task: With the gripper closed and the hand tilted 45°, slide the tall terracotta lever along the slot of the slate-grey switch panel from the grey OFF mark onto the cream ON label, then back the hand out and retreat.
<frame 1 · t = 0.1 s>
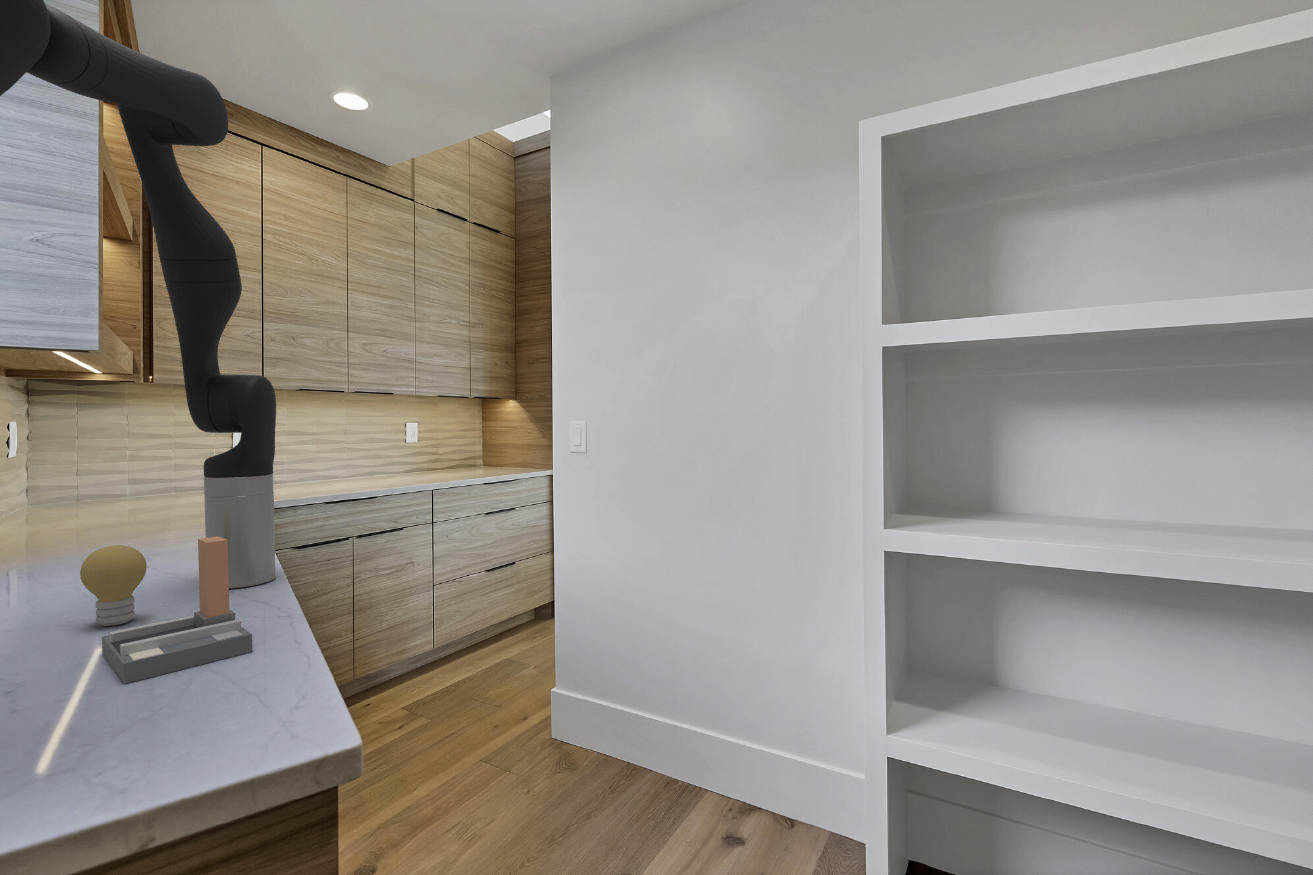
switch panel: (177, 652, 68), on the countertop
light bulb: (115, 624, 79), on the countertop
lever: (213, 582, 71), point 7 cm above the countertop, slide at 0.0 cm
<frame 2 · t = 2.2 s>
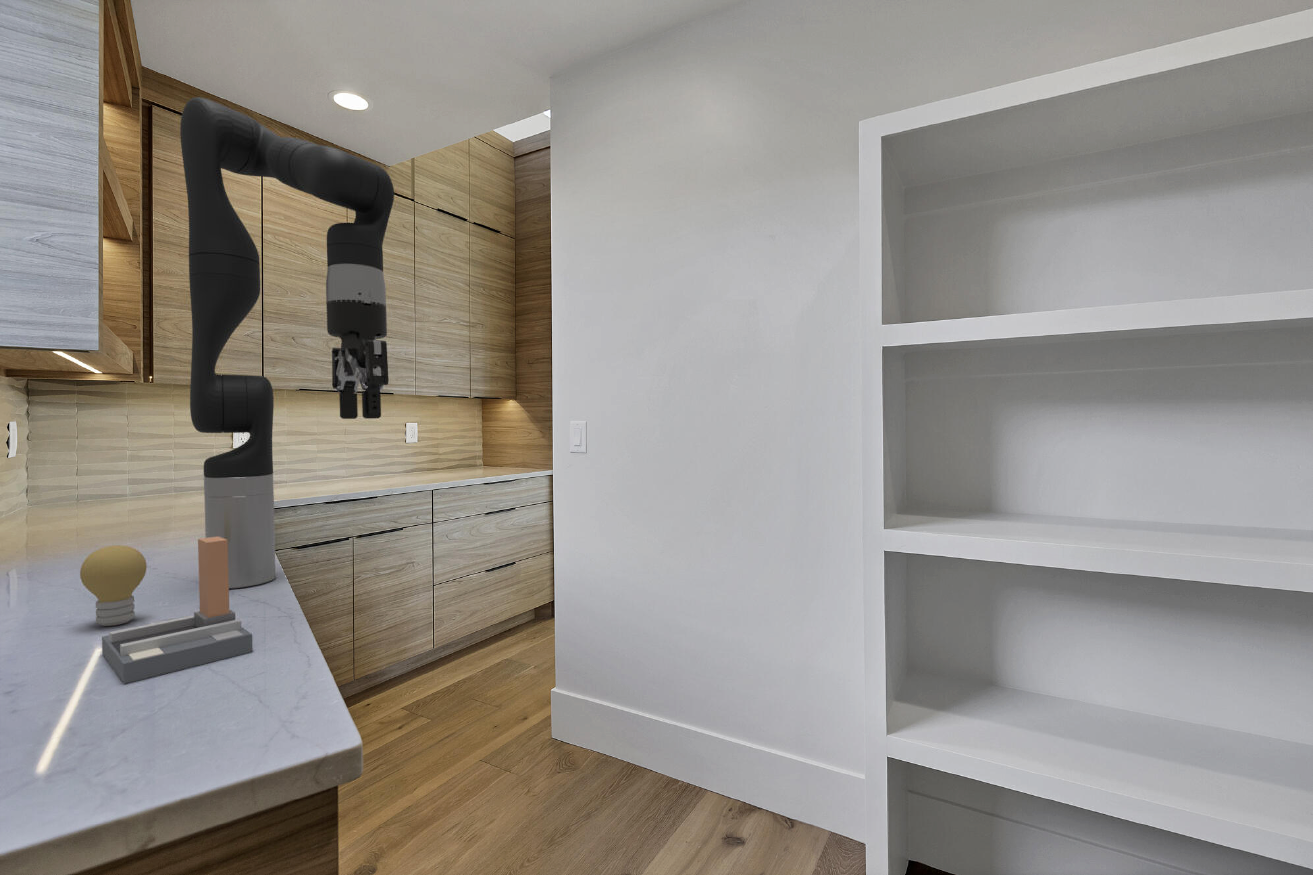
hand: (360, 418, 86), 26 cm above the countertop, tool pointing down, fingers open, 8 cm apart
nothing on the countertop moved.
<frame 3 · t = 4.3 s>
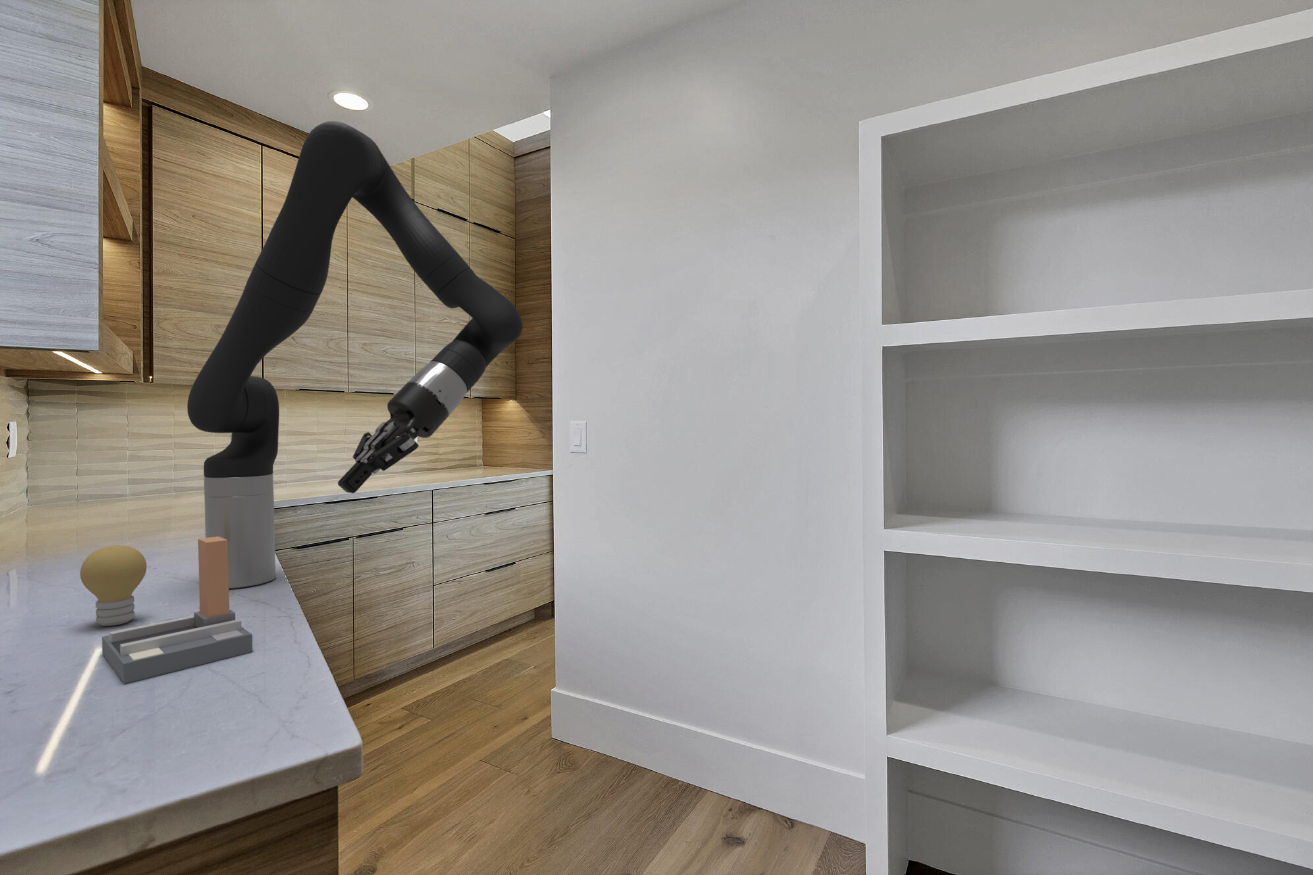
hand: (344, 488, 82), 17 cm above the countertop, tool tilted 45°, fingers closed
nothing on the countertop moved.
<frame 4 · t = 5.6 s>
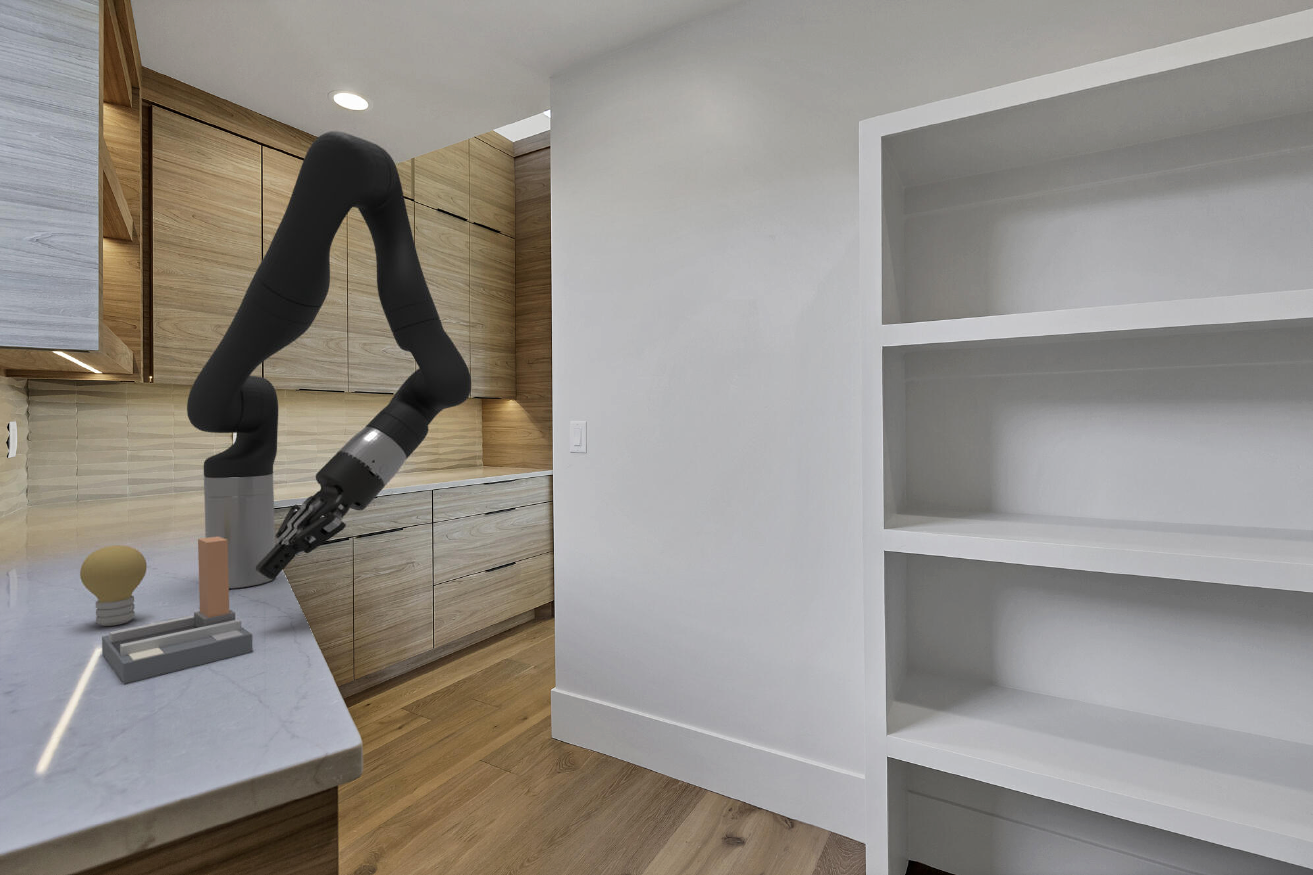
hand: (263, 574, 75), 7 cm above the countertop, tool tilted 45°, fingers closed
nothing on the countertop moved.
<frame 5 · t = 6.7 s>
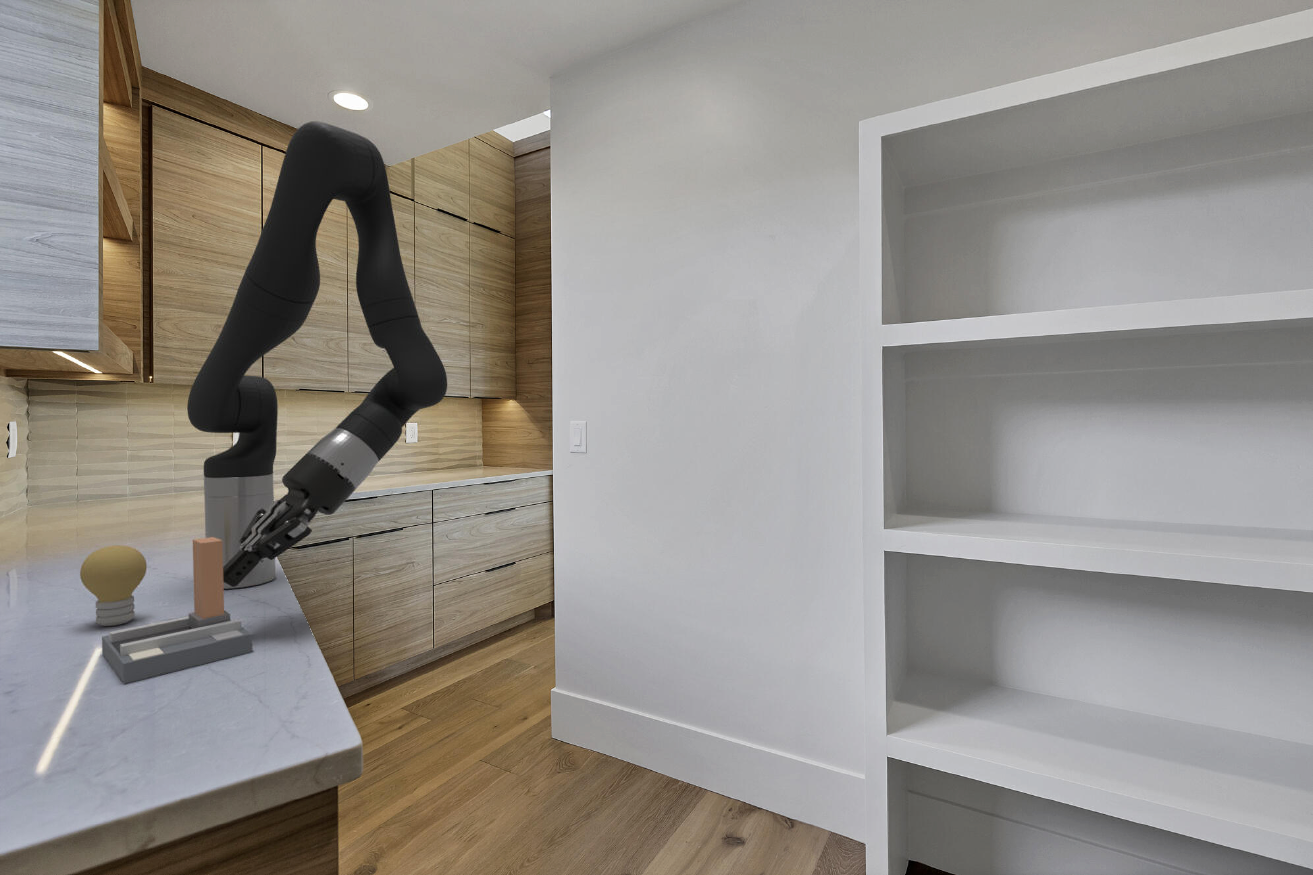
hand: (224, 581, 72), 7 cm above the countertop, tool tilted 45°, fingers closed
lever: (208, 583, 71), point 7 cm above the countertop, slide at 0.5 cm, touching gripper
everything else where it was.
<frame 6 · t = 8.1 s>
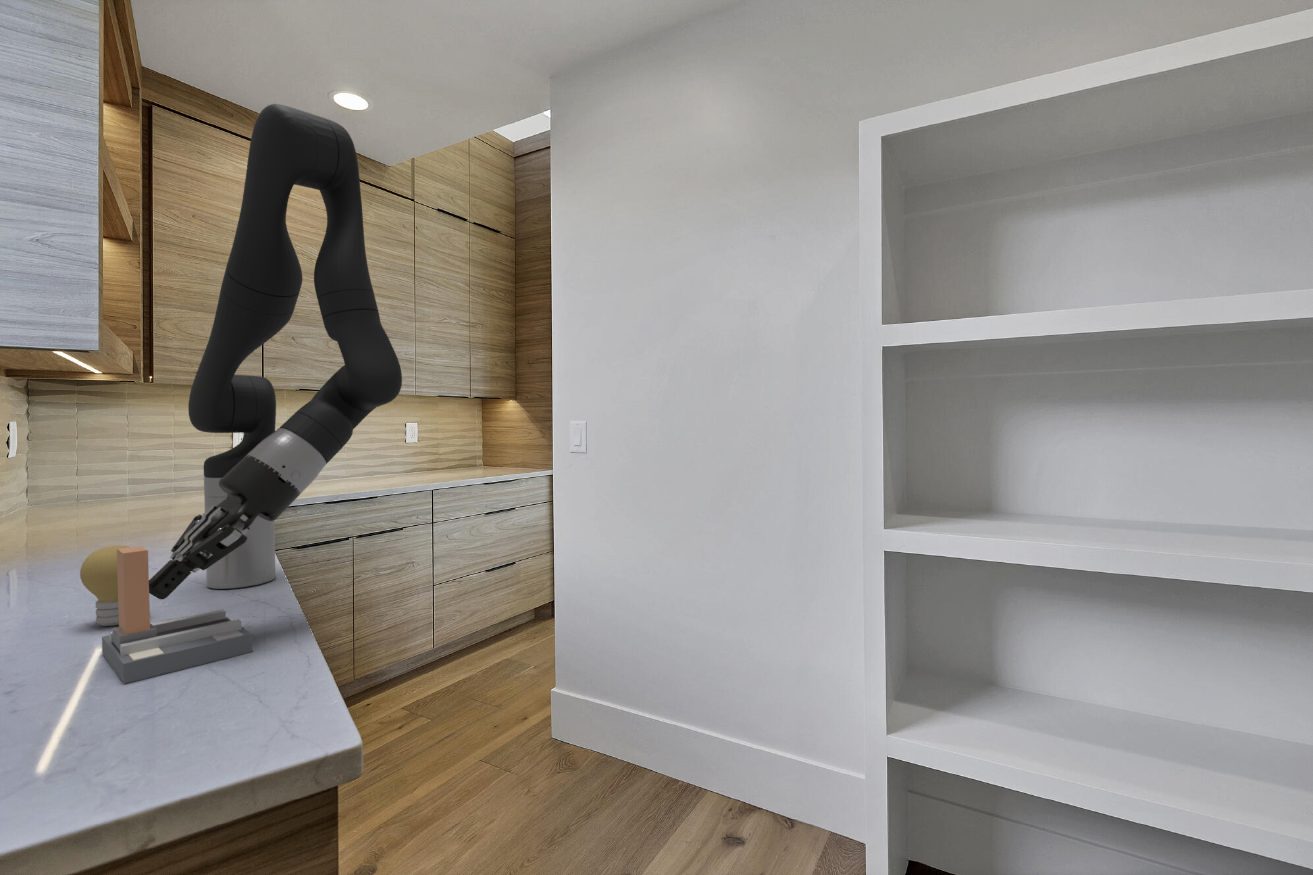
hand: (152, 594, 67), 7 cm above the countertop, tool tilted 45°, fingers closed
lever: (133, 596, 65), point 7 cm above the countertop, slide at 7.1 cm, touching gripper
everything else where it was.
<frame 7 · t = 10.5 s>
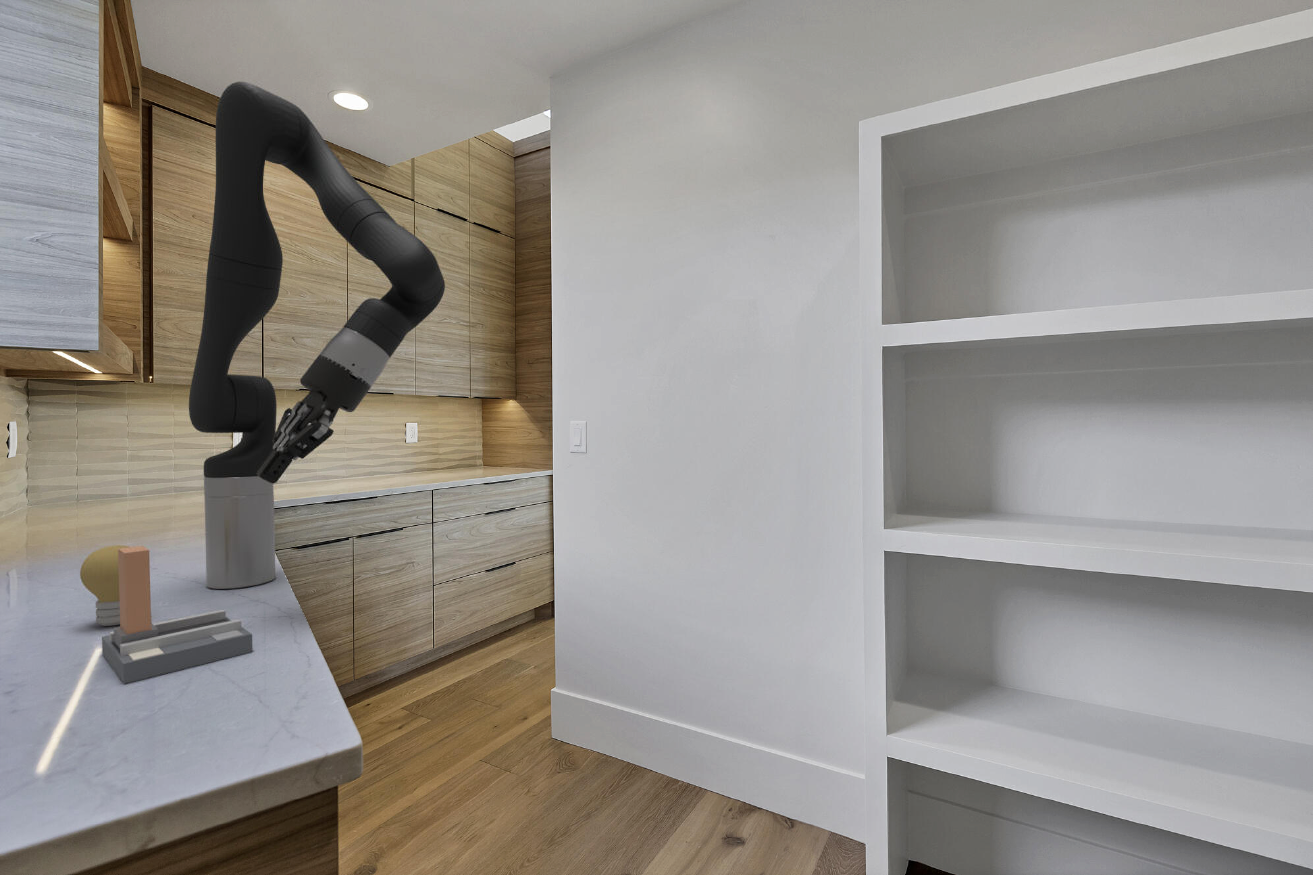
hand: (265, 479, 79), 18 cm above the countertop, tool tilted 35°, fingers closed
lever: (134, 595, 66), point 7 cm above the countertop, slide at 7.0 cm
everything else where it was.
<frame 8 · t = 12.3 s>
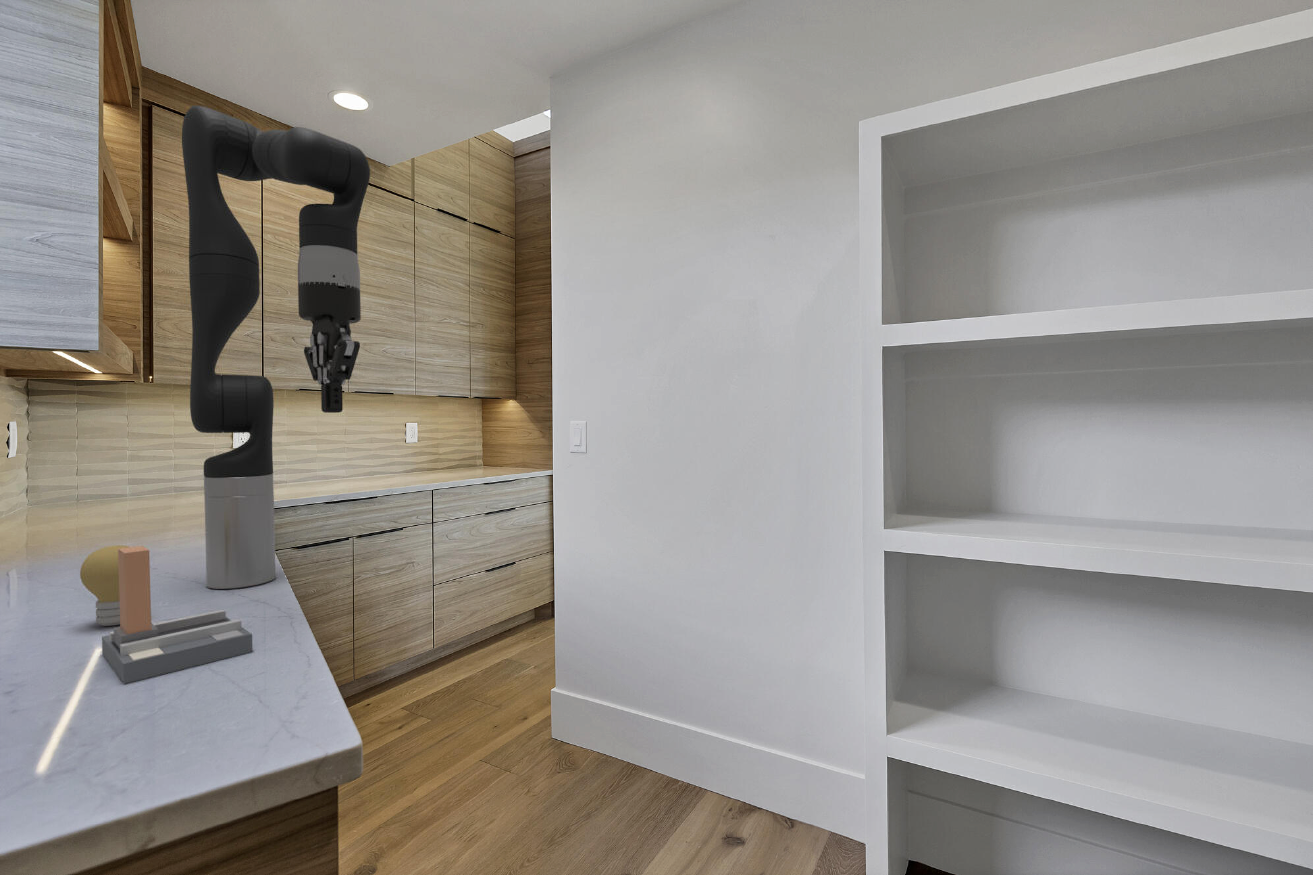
hand: (332, 412, 84), 27 cm above the countertop, tool pointing down, fingers closed
nothing on the countertop moved.
at the end: lever slide at 7.0 cm; light bulb moved 0.2 cm from its start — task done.
